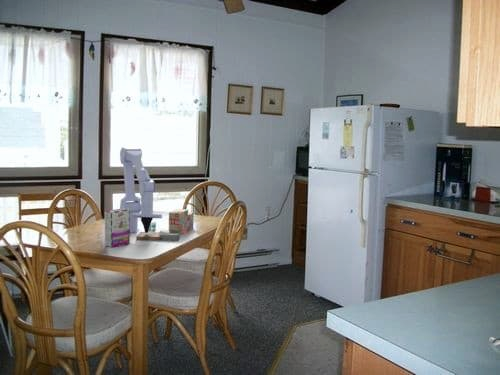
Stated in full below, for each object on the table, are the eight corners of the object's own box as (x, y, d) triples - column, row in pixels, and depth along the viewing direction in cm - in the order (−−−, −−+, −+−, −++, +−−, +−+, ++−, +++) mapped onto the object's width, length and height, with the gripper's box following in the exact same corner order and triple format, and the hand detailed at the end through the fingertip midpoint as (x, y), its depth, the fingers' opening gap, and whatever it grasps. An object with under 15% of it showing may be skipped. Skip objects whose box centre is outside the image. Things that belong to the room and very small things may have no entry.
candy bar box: (122, 242, 225) (122, 207, 224) (130, 243, 223) (130, 209, 221) (103, 246, 216) (104, 210, 214) (111, 247, 213) (111, 211, 212)
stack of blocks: (182, 228, 265) (183, 206, 264) (193, 229, 264) (194, 207, 262) (168, 235, 244) (168, 212, 243) (179, 236, 243) (180, 212, 241)
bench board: (136, 240, 230) (136, 236, 230) (140, 235, 241) (140, 231, 240) (161, 241, 230) (161, 237, 230) (163, 236, 241) (163, 232, 241)
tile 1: (158, 234, 233) (159, 230, 233) (160, 233, 238) (161, 229, 238) (167, 237, 234) (168, 233, 233) (169, 235, 238) (170, 231, 238)
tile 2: (168, 239, 234) (168, 235, 233) (169, 237, 238) (169, 233, 238) (177, 239, 234) (177, 235, 234) (178, 237, 238) (178, 233, 238)
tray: (161, 240, 231) (161, 234, 231) (164, 236, 241) (164, 230, 241) (178, 241, 231) (178, 235, 231) (180, 236, 241) (180, 231, 241)
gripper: (130, 206, 229) (130, 233, 231) (160, 206, 230) (160, 234, 232) (133, 203, 236) (132, 230, 238) (162, 204, 237) (162, 231, 239)
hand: (146, 232), depth 235 cm, fingers closed
